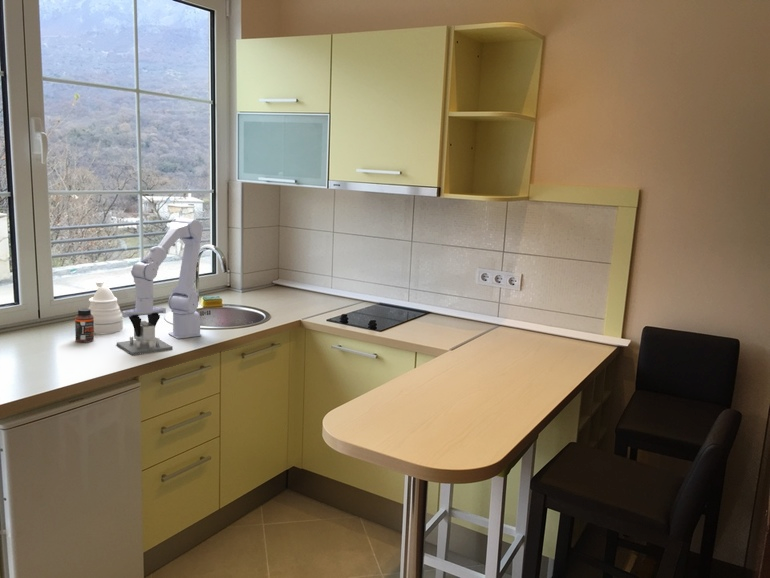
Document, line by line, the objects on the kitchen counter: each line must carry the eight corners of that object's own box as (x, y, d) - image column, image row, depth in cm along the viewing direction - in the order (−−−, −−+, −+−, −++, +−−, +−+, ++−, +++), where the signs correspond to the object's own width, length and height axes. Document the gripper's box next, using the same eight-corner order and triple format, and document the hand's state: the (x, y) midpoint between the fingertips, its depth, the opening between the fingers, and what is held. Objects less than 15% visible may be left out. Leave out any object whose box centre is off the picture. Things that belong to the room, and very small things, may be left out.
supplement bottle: (86, 343, 225) (86, 312, 222) (71, 341, 226) (70, 310, 224) (97, 339, 230) (97, 308, 228) (82, 337, 231) (82, 306, 229)
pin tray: (155, 340, 234) (155, 330, 234) (172, 349, 224) (172, 339, 224) (116, 345, 225) (116, 335, 224) (132, 355, 215) (132, 345, 214)
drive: (154, 342, 223) (154, 325, 221) (143, 344, 220) (143, 326, 219) (145, 337, 228) (145, 320, 227) (134, 338, 226) (134, 321, 224)
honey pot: (77, 330, 240) (76, 282, 237) (104, 323, 252) (103, 278, 249) (104, 335, 236) (103, 287, 232) (130, 328, 248) (129, 282, 244)
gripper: (159, 293, 229) (159, 330, 231) (118, 296, 219) (119, 335, 222) (168, 296, 224) (168, 334, 226) (126, 300, 214) (126, 340, 217)
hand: (144, 335), depth 224 cm, fingers closed on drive, 4 cm apart
